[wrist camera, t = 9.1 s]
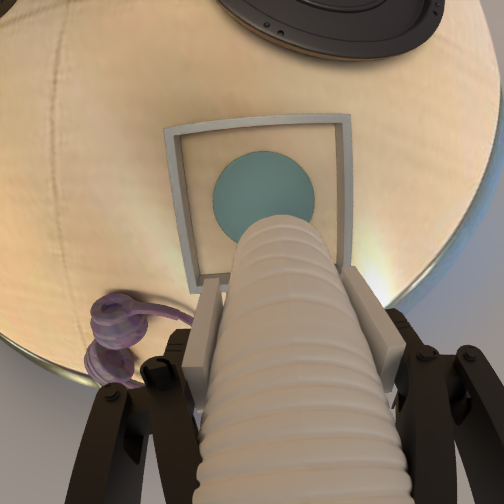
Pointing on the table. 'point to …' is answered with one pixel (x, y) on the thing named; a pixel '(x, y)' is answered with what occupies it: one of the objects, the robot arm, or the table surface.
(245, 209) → the teal round pad
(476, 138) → the table surface
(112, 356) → the headphones
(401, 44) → the round tray
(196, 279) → the teal-dotted square tray
